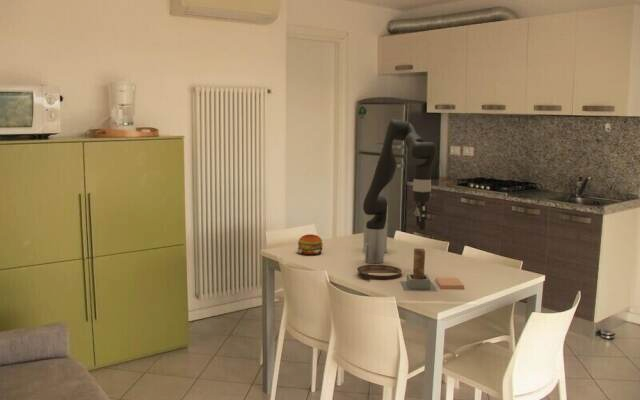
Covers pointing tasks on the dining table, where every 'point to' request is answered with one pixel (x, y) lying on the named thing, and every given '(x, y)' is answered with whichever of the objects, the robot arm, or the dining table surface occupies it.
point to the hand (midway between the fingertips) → (420, 227)
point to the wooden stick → (419, 263)
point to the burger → (310, 244)
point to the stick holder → (417, 284)
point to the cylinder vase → (366, 219)
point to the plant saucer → (378, 271)
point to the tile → (449, 283)
